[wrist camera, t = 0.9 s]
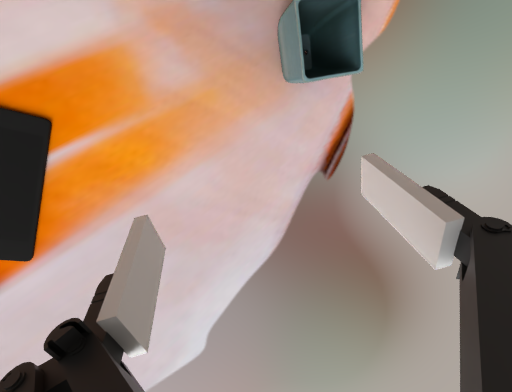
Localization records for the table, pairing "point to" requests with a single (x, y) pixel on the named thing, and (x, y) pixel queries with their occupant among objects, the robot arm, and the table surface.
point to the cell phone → (21, 181)
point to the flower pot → (320, 40)
